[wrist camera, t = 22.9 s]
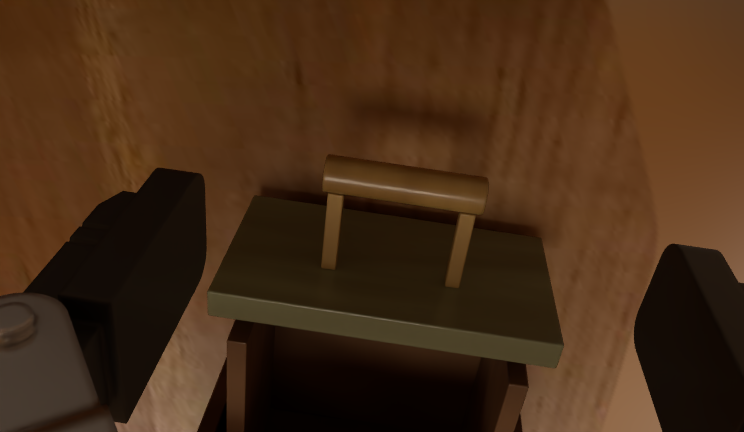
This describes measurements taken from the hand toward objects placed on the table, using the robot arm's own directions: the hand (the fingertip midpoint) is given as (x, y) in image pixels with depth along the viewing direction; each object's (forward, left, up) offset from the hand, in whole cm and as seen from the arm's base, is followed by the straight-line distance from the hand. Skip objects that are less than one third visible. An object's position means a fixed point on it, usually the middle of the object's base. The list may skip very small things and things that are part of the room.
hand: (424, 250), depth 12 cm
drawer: (+9, +11, -17) cm, 22 cm away
